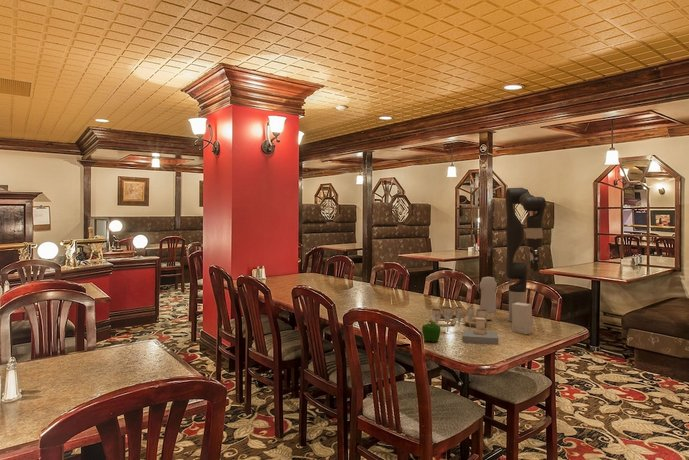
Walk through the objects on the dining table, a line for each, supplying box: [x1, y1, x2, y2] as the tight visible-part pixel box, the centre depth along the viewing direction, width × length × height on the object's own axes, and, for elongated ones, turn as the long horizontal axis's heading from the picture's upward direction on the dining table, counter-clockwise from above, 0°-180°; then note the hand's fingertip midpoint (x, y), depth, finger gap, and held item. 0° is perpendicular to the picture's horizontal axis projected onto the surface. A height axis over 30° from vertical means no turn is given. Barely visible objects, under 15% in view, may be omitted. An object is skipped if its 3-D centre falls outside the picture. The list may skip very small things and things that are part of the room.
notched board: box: [462, 329, 499, 345], centre depth 220 cm, size 12×16×3 cm
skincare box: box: [511, 302, 534, 335], centre depth 232 cm, size 8×6×15 cm
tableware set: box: [428, 307, 494, 328], centre depth 258 cm, size 35×29×4 cm
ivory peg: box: [475, 318, 486, 335], centre depth 222 cm, size 4×4×10 cm
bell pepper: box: [421, 321, 441, 343], centre depth 219 cm, size 8×8×10 cm
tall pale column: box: [479, 276, 498, 314], centre depth 279 cm, size 11×4×22 cm, turn 91°
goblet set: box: [431, 306, 489, 335], centre depth 233 cm, size 28×6×13 cm, turn 82°
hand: (534, 269), depth 224 cm, fingers open, 8 cm apart
